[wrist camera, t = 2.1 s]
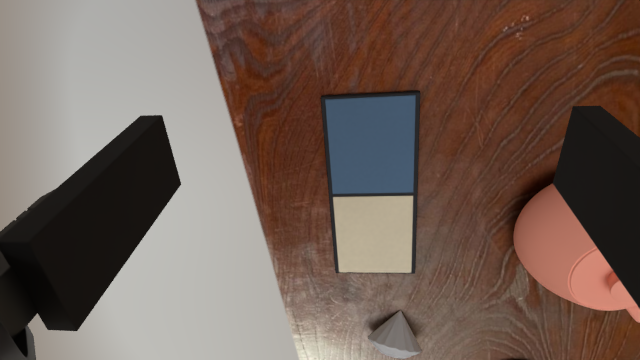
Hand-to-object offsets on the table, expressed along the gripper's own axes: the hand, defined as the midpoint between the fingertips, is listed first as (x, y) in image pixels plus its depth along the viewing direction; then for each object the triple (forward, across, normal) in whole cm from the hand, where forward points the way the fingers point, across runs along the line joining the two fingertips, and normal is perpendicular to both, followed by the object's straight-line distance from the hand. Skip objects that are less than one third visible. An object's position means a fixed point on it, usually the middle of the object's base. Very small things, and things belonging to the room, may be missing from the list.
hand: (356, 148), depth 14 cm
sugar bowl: (+23, +20, -20) cm, 37 cm away
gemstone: (+22, +3, -35) cm, 41 cm away
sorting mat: (+23, +1, -17) cm, 28 cm away
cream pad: (+22, +1, -22) cm, 31 cm away
